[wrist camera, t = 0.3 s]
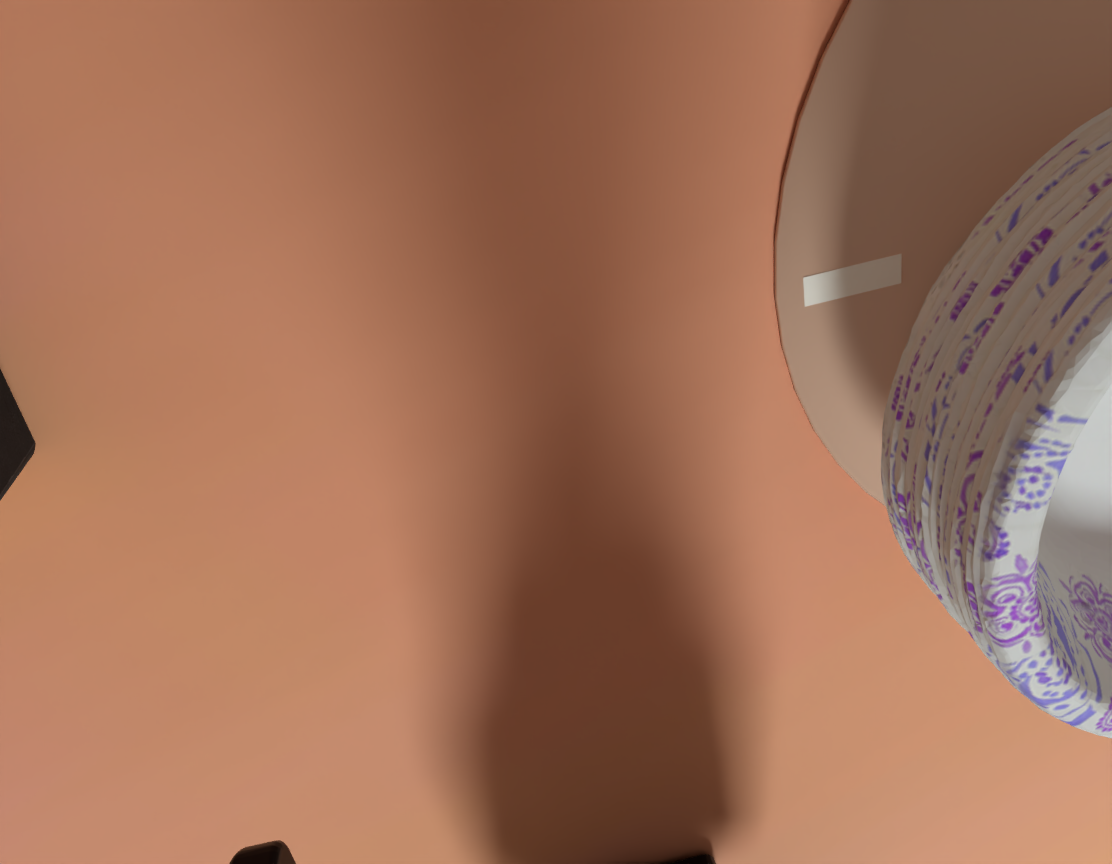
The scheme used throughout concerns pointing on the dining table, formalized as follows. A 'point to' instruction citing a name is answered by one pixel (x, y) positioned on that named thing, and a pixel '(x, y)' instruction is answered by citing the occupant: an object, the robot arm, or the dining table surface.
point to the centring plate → (912, 180)
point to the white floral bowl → (1019, 433)
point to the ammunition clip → (12, 439)
